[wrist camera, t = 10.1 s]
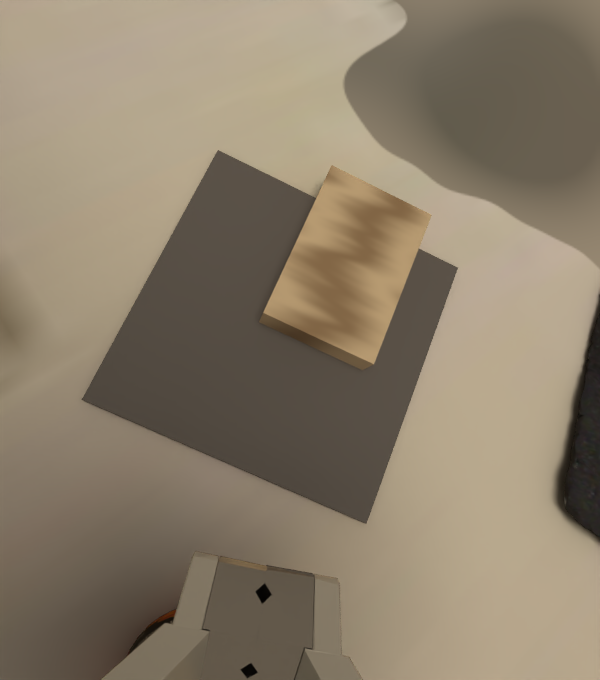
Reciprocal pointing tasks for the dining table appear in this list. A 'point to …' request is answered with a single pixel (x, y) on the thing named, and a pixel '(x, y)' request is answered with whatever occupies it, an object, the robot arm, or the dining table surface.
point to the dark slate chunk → (587, 448)
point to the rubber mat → (263, 350)
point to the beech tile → (347, 270)
